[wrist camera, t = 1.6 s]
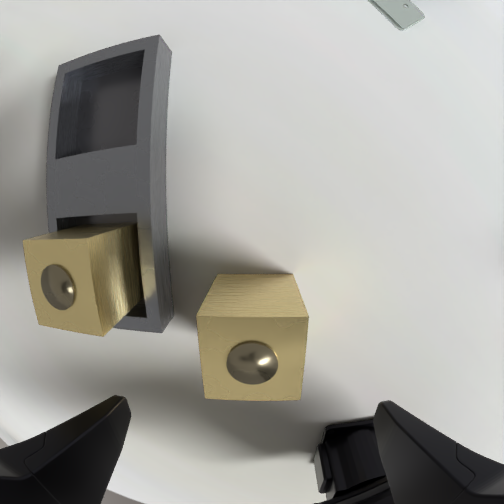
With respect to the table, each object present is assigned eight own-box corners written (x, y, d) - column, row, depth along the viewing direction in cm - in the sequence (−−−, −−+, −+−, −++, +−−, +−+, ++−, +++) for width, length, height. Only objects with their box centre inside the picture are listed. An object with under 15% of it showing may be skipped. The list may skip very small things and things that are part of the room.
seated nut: (142, 221, 16) (85, 238, 10) (148, 292, 17) (101, 338, 11) (84, 224, 16) (20, 240, 10) (91, 289, 17) (37, 325, 11)
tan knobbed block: (293, 274, 17) (309, 318, 11) (289, 339, 18) (300, 401, 12) (217, 273, 17) (195, 316, 11) (220, 339, 18) (204, 400, 12)
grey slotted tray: (171, 52, 14) (159, 34, 12) (173, 315, 18) (162, 333, 15) (77, 75, 14) (58, 65, 12) (82, 307, 18) (63, 320, 15)
